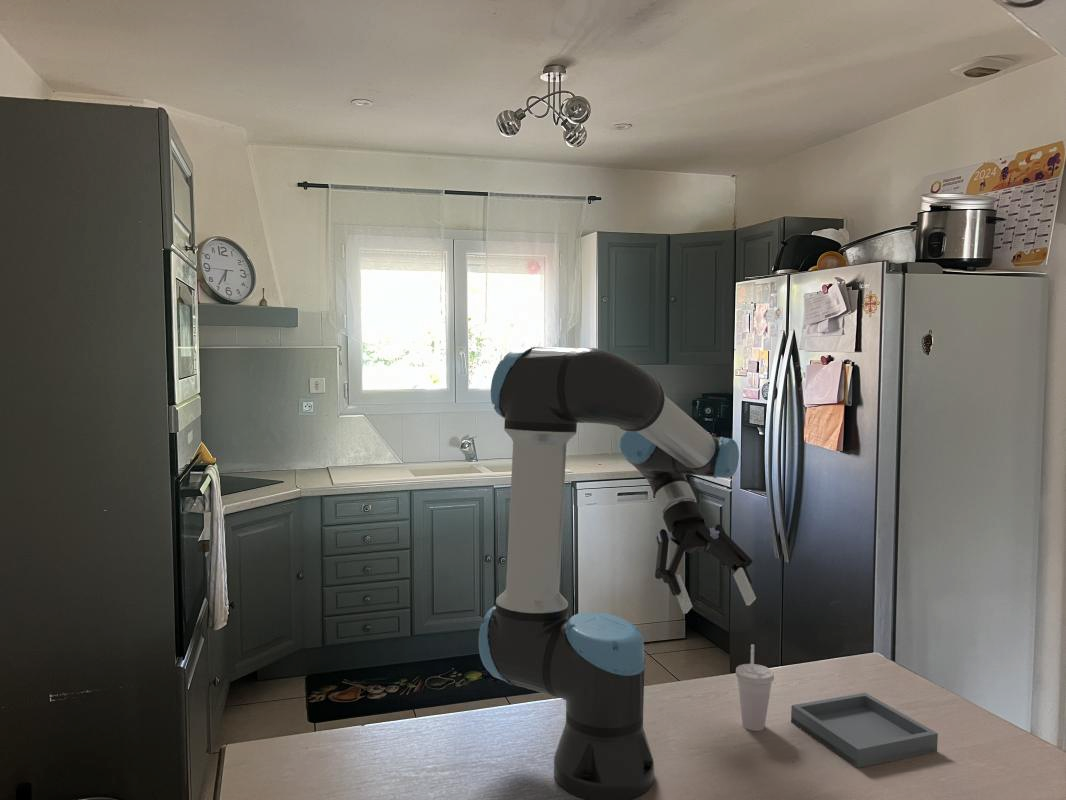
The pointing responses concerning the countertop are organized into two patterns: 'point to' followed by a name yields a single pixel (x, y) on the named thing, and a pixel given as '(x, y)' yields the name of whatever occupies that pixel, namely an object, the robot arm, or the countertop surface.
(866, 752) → the tray
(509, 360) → the robot arm
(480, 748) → the countertop surface
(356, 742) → the countertop surface
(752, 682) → the smoothie
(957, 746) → the countertop surface
